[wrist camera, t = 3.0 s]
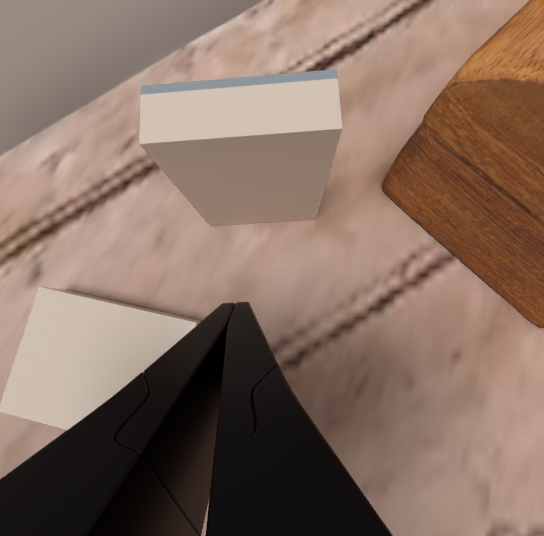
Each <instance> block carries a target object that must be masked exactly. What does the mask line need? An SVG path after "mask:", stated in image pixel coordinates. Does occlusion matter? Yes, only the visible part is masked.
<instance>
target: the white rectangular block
mask: <svg viewBox="0 0 544 536" xmlns="http://www.w3.org/2000/svg"><path fill="white" fill-rule="evenodd" d="M341 131H342V122H341V111H340V100H339V90H338V79H337V69H336V70H324V71H312V72H301V73H289V74H277V75H265V76H254V77H242V78H230V79H218V80H207V81H195V82H183V83H171V84H159V85H148V86H141V107H140V145H141V146H142V147H143V149H144V150H145V151H146V152H147V153H148V154H149V156H150V157H151V158H152V159H153V160H154V161H155V163H156V164H157V165H158V166H159V167H160V168H161V169H162V171H163V172H164V173H165V174H166V175H167V176H168V178H169V179H170V180H171V181H172V182H173V183H174V185H175V186H176V187H177V188H178V189H179V190H180V191H181V193H182V194H183V195H184V196H185V197H186V198H187V200H188V201H189V202H190V203H191V204H192V205H193V207H194V208H195V209H196V210H197V211H198V212H199V213H200V215H201V216H202V217H203V218H204V219H205V220H206V222H207V223H208V224H209V225H210V226H221V225H237V224H253V223H269V222H285V221H301V220H316V218H317V215H318V211H319V208H320V204H321V201H322V197H323V194H324V190H325V187H326V183H327V180H328V176H329V173H330V169H331V166H332V162H333V159H334V155H335V152H336V148H337V145H338V141H339V138H340V134H341Z"/></svg>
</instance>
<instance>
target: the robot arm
mask: <svg viewBox="0 0 544 536" xmlns="http://www.w3.org/2000/svg"><path fill="white" fill-rule="evenodd" d="M209 496H210V499H209ZM208 501H209V509H208V519H207V529H206V536H393V535H392V534H391V533H390V531H389V530H388V528H387V527H386V525H385V524H384V523H383V521H382V520H381V518H380V517H379V515H378V514H377V513H376V511H375V510H374V508H373V507H372V506H371V504H370V503H369V501H368V500H367V498H366V497H365V496H364V494H363V493H362V491H361V490H360V488H359V487H358V486H357V484H356V483H355V481H354V480H353V478H352V477H351V476H350V474H349V473H348V471H347V470H346V468H345V467H344V466H343V464H342V463H341V461H340V460H339V458H338V457H337V456H336V454H335V453H334V451H333V450H332V448H331V447H330V446H329V444H328V443H327V441H326V440H325V438H324V437H323V436H322V434H321V433H320V431H319V430H318V428H317V427H316V426H315V424H314V423H313V421H312V420H311V418H310V417H309V416H308V414H307V413H306V411H305V410H304V408H303V407H302V405H301V404H300V402H299V401H298V399H297V398H296V396H295V395H294V393H293V391H292V390H291V388H290V386H289V384H288V382H287V380H286V379H285V377H284V375H283V373H282V371H281V368H280V367H279V365H278V363H277V361H276V359H275V357H274V355H273V352H272V350H271V348H270V346H269V344H268V342H267V340H266V338H265V336H264V334H263V331H262V329H261V327H260V325H259V323H258V321H257V319H256V317H255V315H254V313H253V310H252V308H251V306H250V304H249V303H248V302H238V303H236V304H235V303H223V304H221V305H220V306H219V307H218V308H217V309H215V310H214V311H213V312H212V313H211V314H210V315H208V316H207V317H206V318H205V319H204V320H203V321H201V322H200V323H199V324H198V325H197V326H196V327H194V328H193V329H192V330H191V331H190V332H189V333H187V334H186V335H185V336H184V337H183V338H181V339H180V340H179V341H178V342H177V343H176V344H174V345H173V346H172V347H171V348H170V349H169V350H167V351H166V352H165V353H164V354H163V355H162V356H160V357H159V358H158V359H157V360H156V361H155V362H153V363H152V364H151V365H150V366H149V367H148V368H146V369H145V370H144V373H143V372H141V373H140V374H139V375H138V376H136V377H135V378H134V379H133V380H132V381H131V382H129V383H128V384H127V385H126V386H124V387H123V388H122V389H121V390H120V391H118V392H117V393H116V394H115V395H113V396H112V397H111V398H110V399H108V400H107V401H106V402H104V403H103V404H102V405H100V406H99V407H98V408H96V409H95V410H94V411H93V412H91V413H90V414H89V415H87V416H86V417H84V418H83V419H82V420H80V421H79V422H78V423H76V424H75V425H74V426H72V427H71V428H70V429H68V430H67V431H65V432H64V433H63V434H61V435H60V436H59V437H57V438H56V439H55V440H53V441H52V442H51V443H49V444H48V445H46V446H45V447H44V448H42V449H41V450H40V451H38V452H37V453H36V454H34V455H33V456H32V457H30V458H29V459H27V460H26V461H25V462H23V463H22V464H21V465H19V466H18V467H17V468H15V469H14V470H13V471H11V472H10V473H8V474H7V475H6V476H4V477H3V478H2V479H0V536H201V533H202V529H203V524H204V519H205V515H206V510H207V505H208Z"/></svg>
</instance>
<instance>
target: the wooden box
mask: <svg viewBox="0 0 544 536" xmlns="http://www.w3.org/2000/svg"><path fill="white" fill-rule="evenodd" d="M383 191H384V192H385V193H386V194H387V195H388V197H389V198H390V199H391V200H392V201H393V202H395V203H396V204H397V205H398V206H399V207H400V208H401V209H402V210H403V211H404V212H405V213H407V214H408V215H409V216H410V217H411V218H413V220H415V221H416V222H417V223H418V224H419V225H420V226H422V227H423V228H424V229H425V230H426V231H427V232H428V233H429V234H430V235H431V236H433V237H434V238H435V239H436V240H437V241H439V242H440V243H441V244H443V245H444V246H445V247H446V248H447V249H448V250H449V251H450V252H452V253H453V254H454V255H455V256H456V257H457V258H458V259H459V260H460V261H461V262H462V263H464V264H465V265H466V266H467V267H468V268H469V269H471V270H472V271H473V272H474V273H475V274H477V275H478V276H479V277H480V278H481V279H482V280H484V281H485V282H486V283H487V284H488V285H489V286H490V287H491V288H492V289H494V290H495V291H496V292H497V293H499V294H500V295H501V296H502V297H503V298H505V299H506V300H507V301H508V302H509V303H511V304H512V305H513V306H514V307H515V308H516V309H517V310H518V311H519V312H520V313H521V314H523V315H524V316H525V317H526V318H527V319H528V320H529V321H531V322H532V323H534V324H536V325H537V326H538V327H539V328H544V0H530V1H529V2H528V3H527V4H526V5H525V6H524V7H523V8H522V9H521V10H519V11H518V12H517V13H516V14H515V15H514V16H513V17H512V18H511V19H510V20H509V21H508V22H507V23H506V24H504V25H503V26H502V27H501V28H500V29H499V30H498V31H497V32H496V33H495V34H494V35H493V36H492V37H491V38H490V39H489V40H487V41H486V42H485V43H484V44H483V45H482V46H481V47H480V48H479V49H478V50H477V51H476V52H475V53H474V54H473V55H472V56H471V57H470V58H469V59H468V60H467V61H466V62H465V64H464V65H463V66H462V67H461V68H460V69H459V70H458V72H457V73H456V74H455V75H454V76H453V78H452V79H451V80H450V81H449V83H448V84H447V85H446V87H445V88H444V89H443V90H442V92H441V93H440V94H439V96H438V97H437V98H436V100H435V101H434V103H433V104H432V105H431V107H430V108H429V109H428V111H427V112H426V114H425V116H424V119H423V122H422V123H421V124H420V126H419V127H418V128H417V130H416V131H415V132H414V134H413V135H412V136H411V137H410V139H409V140H408V141H407V143H406V144H405V145H404V147H403V148H402V150H401V151H400V153H399V154H398V156H397V158H396V159H395V161H394V163H393V164H392V166H391V168H390V170H389V171H388V173H387V175H386V177H385V180H384V182H383Z"/></svg>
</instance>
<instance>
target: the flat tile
mask: <svg viewBox="0 0 544 536" xmlns="http://www.w3.org/2000/svg"><path fill="white" fill-rule="evenodd" d="M200 322H201V320H197V319H192V318H188V317H184V316H179V315H175V314H170V313H166V312H162V311H157V310H153V309H148V308H144V307H140V306H135V305H131V304H126V303H122V302H117V301H113V300H109V299H104V298H100V297H95V296H91V295H87V294H82V293H78V292H73V291H69V290H62V289H53V288H45V287H39V289H38V292H37V295H36V298H35V301H34V304H33V307H32V310H31V313H30V316H29V319H28V322H27V325H26V328H25V331H24V334H23V337H22V340H21V343H20V346H19V349H18V352H17V355H16V358H15V361H14V364H13V367H12V370H11V373H10V376H9V379H8V382H7V385H6V388H5V391H4V394H3V397H2V400H1V403H0V412H3V413H7V414H10V415H14V416H18V417H21V418H25V419H29V420H32V421H36V422H40V423H44V424H47V425H51V426H55V427H58V428H62V429H66V430H68V429H70V428H71V427H72V426H74V425H75V424H76V423H78V422H79V421H80V420H82V419H83V418H84V417H86V416H87V415H89V414H90V413H91V412H93V411H94V410H95V409H96V408H98V407H99V406H100V405H102V404H103V403H104V402H106V401H107V400H108V399H110V398H111V397H112V396H113V395H115V394H116V393H117V392H118V391H120V390H121V389H122V388H123V387H124V386H126V385H127V384H128V383H129V382H131V381H132V380H133V379H134V378H135V377H136V376H138V375H139V374H140V373H141V372H143V373H144V370H145V369H146V368H148V367H149V366H150V365H151V364H152V363H153V362H155V361H156V360H157V359H158V358H159V357H160V356H162V355H163V354H164V353H165V352H166V351H167V350H169V349H170V348H171V347H172V346H173V345H174V344H176V343H177V342H178V341H179V340H180V339H181V338H183V337H184V336H185V335H186V334H187V333H189V332H190V331H191V330H192V329H193V328H194V327H196V326H197V325H198V324H199V323H200Z"/></svg>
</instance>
